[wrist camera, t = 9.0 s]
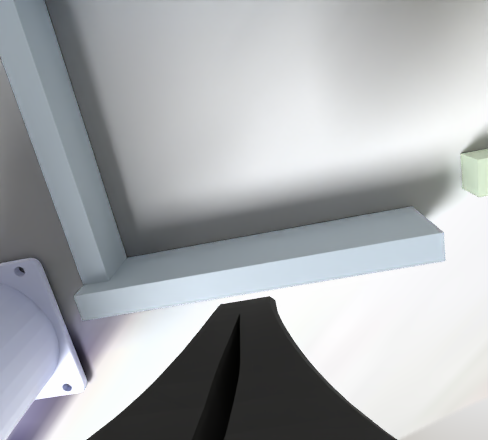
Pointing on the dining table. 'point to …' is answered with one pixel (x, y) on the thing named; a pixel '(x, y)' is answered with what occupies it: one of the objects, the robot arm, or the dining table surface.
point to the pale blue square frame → (188, 258)
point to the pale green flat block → (475, 172)
